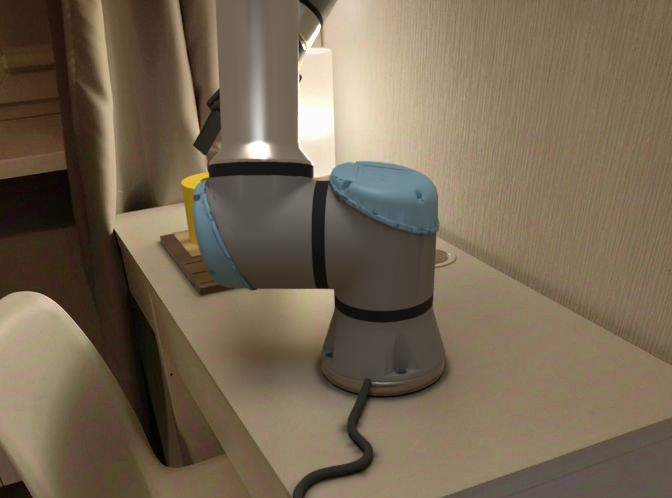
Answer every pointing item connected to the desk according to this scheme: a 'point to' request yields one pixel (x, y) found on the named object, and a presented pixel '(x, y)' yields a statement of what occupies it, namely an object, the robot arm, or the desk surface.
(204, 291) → the board
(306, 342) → the desk surface
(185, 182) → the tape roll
